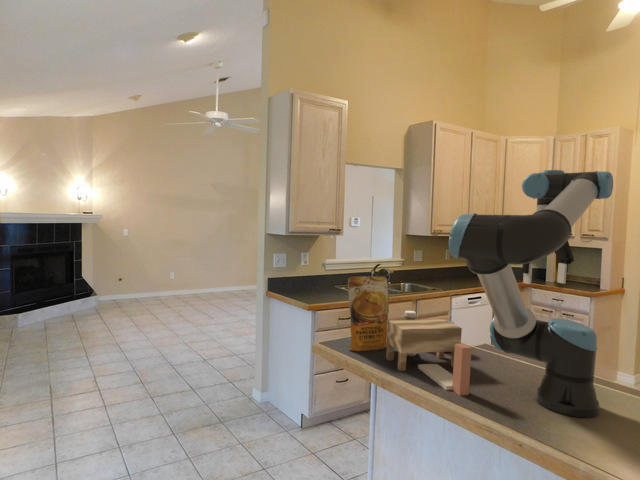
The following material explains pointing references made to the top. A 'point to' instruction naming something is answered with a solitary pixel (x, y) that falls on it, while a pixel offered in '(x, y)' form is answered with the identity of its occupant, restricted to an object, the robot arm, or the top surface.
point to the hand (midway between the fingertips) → (544, 283)
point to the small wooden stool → (421, 338)
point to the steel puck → (411, 354)
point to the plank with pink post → (460, 371)
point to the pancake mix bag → (368, 312)
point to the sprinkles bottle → (410, 315)
